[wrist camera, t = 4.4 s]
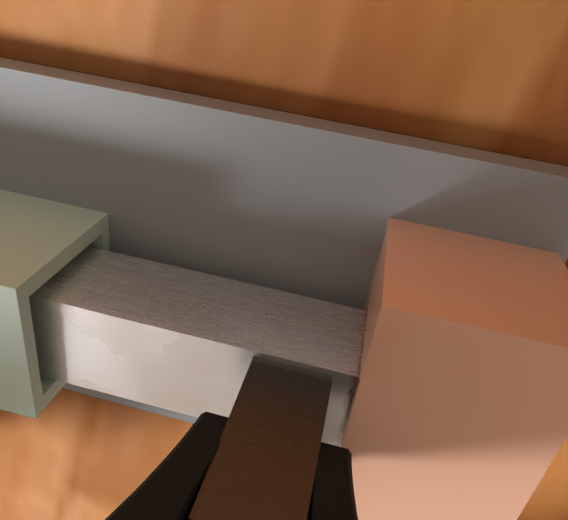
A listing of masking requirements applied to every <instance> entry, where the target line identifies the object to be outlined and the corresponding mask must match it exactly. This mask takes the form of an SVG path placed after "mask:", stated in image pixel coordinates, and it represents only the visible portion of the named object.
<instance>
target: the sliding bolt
mask: <svg viewBox="0 0 568 520" xmlns="http://www.w3.org/2000/svg"><path fill="white" fill-rule="evenodd" d="M29 302H30V309H31V316H32V323H33V330H34V337H35V344H36V351H37V358H38V365H39V372H40V376H43V377H46V378H50V379H54V380H58V381H61V382H65V383H69V384H73V385H76V386H80V387H84V388H88V389H92V390H95V391H99V392H103V393H107V394H110V395H114V396H118V397H122V398H125V399H129V400H133V401H137V402H141V403H144V404H148V405H152V406H156V407H159V408H163V409H167V410H171V411H175V412H178V413H182V414H186V415H190V416H193V417H197V418H198V417H199V416H200V415H201V414H202V413H204V412H210V413H214V414H217V415H221V416H225V417H229V418H228V420H227V423H226V425H225V428H224V430H223V433H222V435H221V438H220V440H219V442H220V444H219V447H218V449H217V451H216V453H215V454H214V456H213V458H212V460H211V463H210V465H209V468H208V470H207V473H206V475H205V478H204V480H203V483H202V485H201V488H200V490H199V493H198V495H197V498H196V500H195V503H194V505H193V508H192V510H191V513H190V515H189V518H188V520H307V515H308V510H309V505H310V499H311V494H312V488H313V483H314V478H315V471H316V467H317V462H318V456H319V451H320V446H321V442H324V443H327V444H331V445H335V446H339V447H340V445H341V442H342V438H343V435H344V431H345V428H346V424H347V420H348V417H349V413H350V410H351V406H352V403H353V399H354V396H355V392H356V389H357V385H358V381H359V377H360V368H361V360H362V352H363V344H364V336H365V328H366V319H367V311H366V310H362V309H357V308H353V307H349V306H344V305H340V304H336V303H331V302H327V301H323V300H319V299H314V298H310V297H306V296H301V295H297V294H293V293H288V292H284V291H280V290H276V289H271V288H267V287H263V286H258V285H254V284H250V283H245V282H241V281H237V280H232V279H228V278H224V277H220V276H215V275H211V274H207V273H202V272H198V271H194V270H189V269H185V268H181V267H176V266H172V265H168V264H164V263H159V262H155V261H151V260H146V259H142V258H138V257H133V256H129V255H125V254H121V253H116V252H112V251H108V250H103V249H99V248H95V247H90V246H87V247H86V248H85V249H84V250H83V251H81V252H80V253H79V254H78V255H77V256H76V257H75V258H73V259H72V260H71V261H70V262H69V263H68V264H66V265H65V266H64V267H63V268H62V269H61V270H60V271H58V272H57V273H56V274H55V275H54V276H53V277H51V278H50V279H49V280H48V281H47V282H46V283H45V284H43V285H42V286H41V287H40V288H39V289H38V290H36V291H35V292H34V293H33V294H32V295H31V296H30V297H29Z"/></svg>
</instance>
